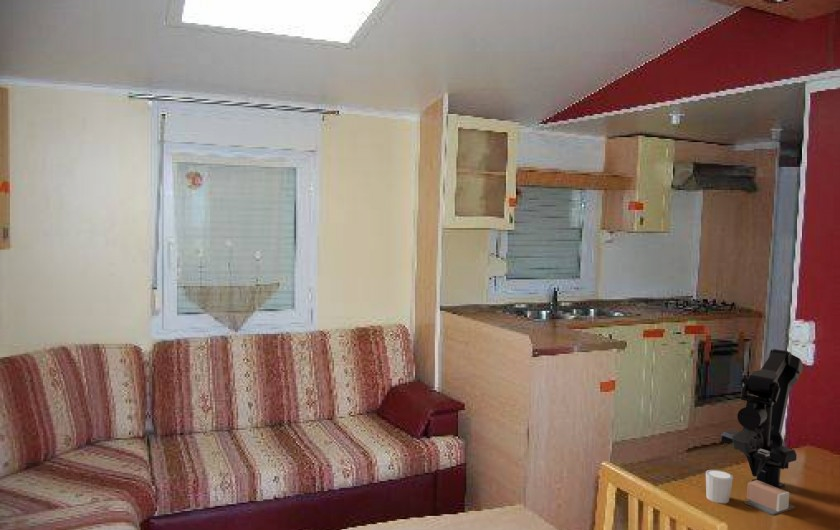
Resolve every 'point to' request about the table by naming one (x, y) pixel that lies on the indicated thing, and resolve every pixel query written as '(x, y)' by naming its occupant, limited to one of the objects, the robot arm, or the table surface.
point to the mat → (766, 509)
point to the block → (768, 495)
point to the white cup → (718, 486)
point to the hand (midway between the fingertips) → (755, 476)
